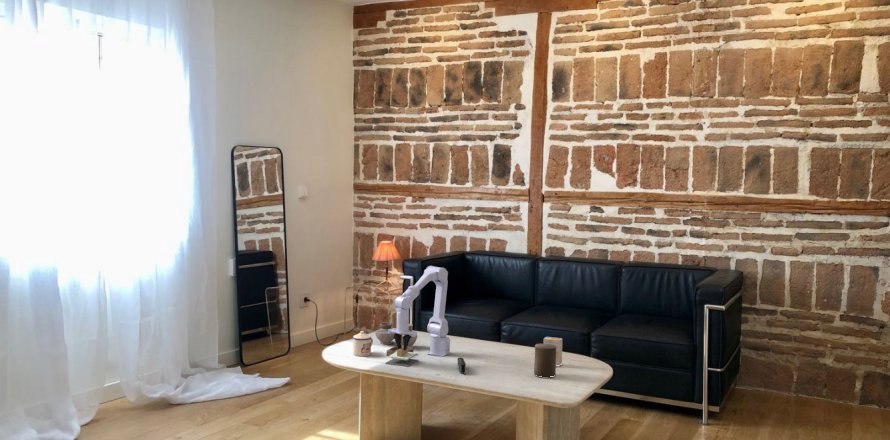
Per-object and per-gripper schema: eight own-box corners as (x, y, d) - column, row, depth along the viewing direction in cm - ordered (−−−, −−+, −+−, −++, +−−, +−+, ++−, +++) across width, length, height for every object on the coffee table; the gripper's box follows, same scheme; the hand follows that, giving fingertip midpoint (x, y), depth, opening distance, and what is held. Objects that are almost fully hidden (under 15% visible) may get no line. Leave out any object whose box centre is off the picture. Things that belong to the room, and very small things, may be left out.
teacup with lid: (362, 357, 364) (362, 334, 363) (349, 354, 370) (349, 331, 369) (378, 352, 374) (379, 329, 373) (365, 349, 379) (365, 327, 378)
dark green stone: (456, 356, 351) (460, 364, 336) (463, 356, 351) (467, 364, 337) (456, 367, 351) (460, 375, 336) (462, 367, 352) (467, 375, 337)
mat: (418, 360, 360) (418, 359, 360) (408, 366, 349) (408, 365, 349) (396, 357, 365) (396, 356, 365) (385, 363, 354) (385, 362, 354)
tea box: (413, 354, 373) (413, 348, 373) (404, 359, 364) (404, 352, 364) (395, 352, 377) (395, 345, 377) (386, 356, 368) (386, 350, 368)
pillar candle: (550, 379, 332) (551, 346, 331) (530, 375, 337) (531, 343, 336) (558, 374, 340) (560, 342, 339) (539, 371, 345) (540, 339, 344)
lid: (416, 355, 360) (416, 346, 359) (407, 361, 351) (407, 352, 350) (397, 353, 364) (397, 344, 363) (388, 358, 354) (388, 350, 354)
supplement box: (562, 365, 356) (563, 338, 355) (559, 367, 352) (560, 340, 350) (545, 362, 359) (546, 336, 358) (542, 365, 355) (543, 338, 354)
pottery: (409, 351, 378) (409, 328, 377) (370, 344, 391) (370, 321, 390) (422, 346, 387) (422, 324, 386) (384, 339, 401) (384, 318, 400)
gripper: (385, 321, 354) (384, 349, 356) (412, 324, 349) (412, 353, 350) (391, 319, 361) (391, 346, 362) (419, 321, 355) (418, 349, 357)
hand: (402, 349), depth 356 cm, fingers closed on lid, 2 cm apart
